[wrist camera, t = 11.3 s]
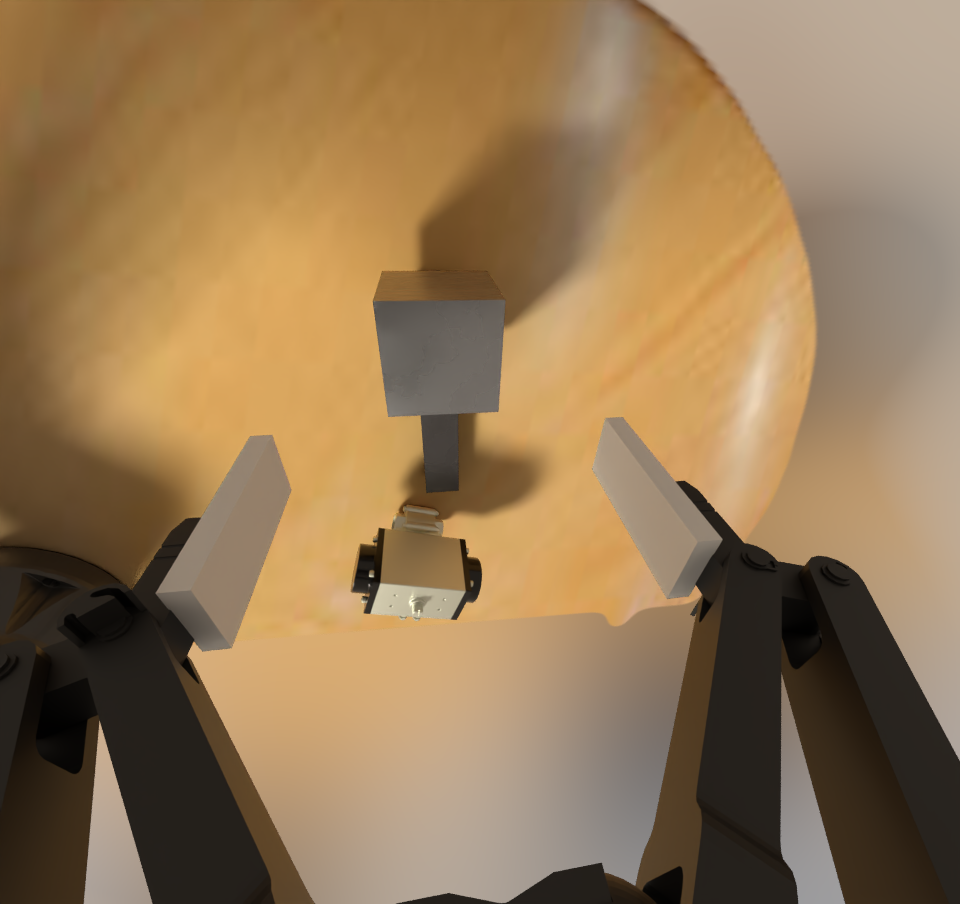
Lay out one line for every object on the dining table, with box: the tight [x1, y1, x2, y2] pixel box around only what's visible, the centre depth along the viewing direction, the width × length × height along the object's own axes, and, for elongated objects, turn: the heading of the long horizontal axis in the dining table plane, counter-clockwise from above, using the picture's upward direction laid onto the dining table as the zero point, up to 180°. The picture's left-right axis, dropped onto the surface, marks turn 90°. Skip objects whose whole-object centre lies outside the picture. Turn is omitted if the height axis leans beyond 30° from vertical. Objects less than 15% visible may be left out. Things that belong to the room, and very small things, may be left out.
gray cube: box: [373, 271, 505, 417], centre depth 25 cm, size 7×7×7 cm
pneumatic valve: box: [351, 505, 482, 621], centre depth 39 cm, size 6×12×12 cm, turn 70°
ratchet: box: [421, 270, 459, 493], centre depth 32 cm, size 6×20×7 cm, turn 178°
